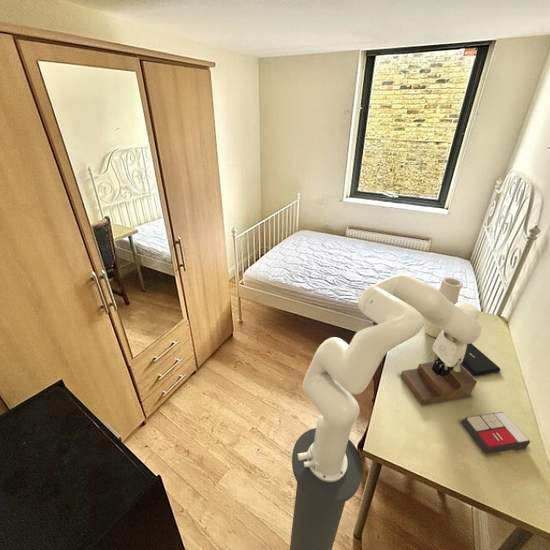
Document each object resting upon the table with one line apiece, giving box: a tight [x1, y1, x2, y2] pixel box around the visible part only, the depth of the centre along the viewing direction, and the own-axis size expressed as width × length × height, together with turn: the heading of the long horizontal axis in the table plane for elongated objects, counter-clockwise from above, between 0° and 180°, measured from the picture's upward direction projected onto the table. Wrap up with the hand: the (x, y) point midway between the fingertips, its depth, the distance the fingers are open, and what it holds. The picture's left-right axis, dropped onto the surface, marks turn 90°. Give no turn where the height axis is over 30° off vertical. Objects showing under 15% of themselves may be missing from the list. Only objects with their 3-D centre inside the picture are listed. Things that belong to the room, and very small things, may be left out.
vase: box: [423, 276, 464, 338], centre depth 137 cm, size 14×14×30 cm
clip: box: [432, 360, 451, 375], centre depth 111 cm, size 3×6×5 cm, turn 102°
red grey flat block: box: [462, 411, 531, 455], centre depth 98 cm, size 11×4×15 cm
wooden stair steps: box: [400, 358, 478, 406], centre depth 114 cm, size 21×14×8 cm, turn 102°
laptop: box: [460, 343, 501, 377], centre depth 129 cm, size 16×20×2 cm
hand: (440, 370), depth 112 cm, fingers closed on clip, 3 cm apart
